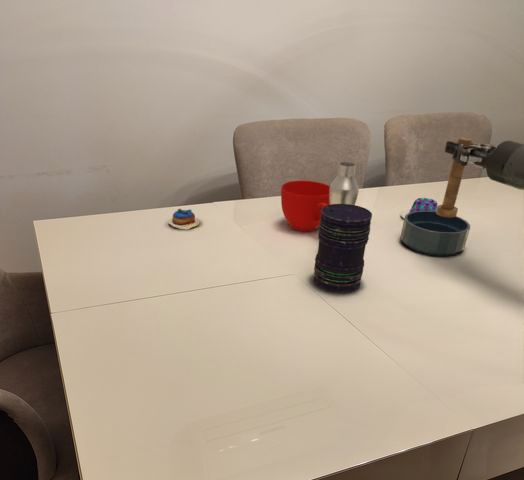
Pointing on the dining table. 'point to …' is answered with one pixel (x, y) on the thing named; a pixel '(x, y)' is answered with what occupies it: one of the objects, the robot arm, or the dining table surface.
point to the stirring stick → (453, 187)
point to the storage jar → (341, 247)
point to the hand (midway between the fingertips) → (452, 145)
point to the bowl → (434, 233)
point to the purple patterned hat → (421, 206)
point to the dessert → (183, 219)
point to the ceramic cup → (304, 203)
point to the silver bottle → (344, 185)
